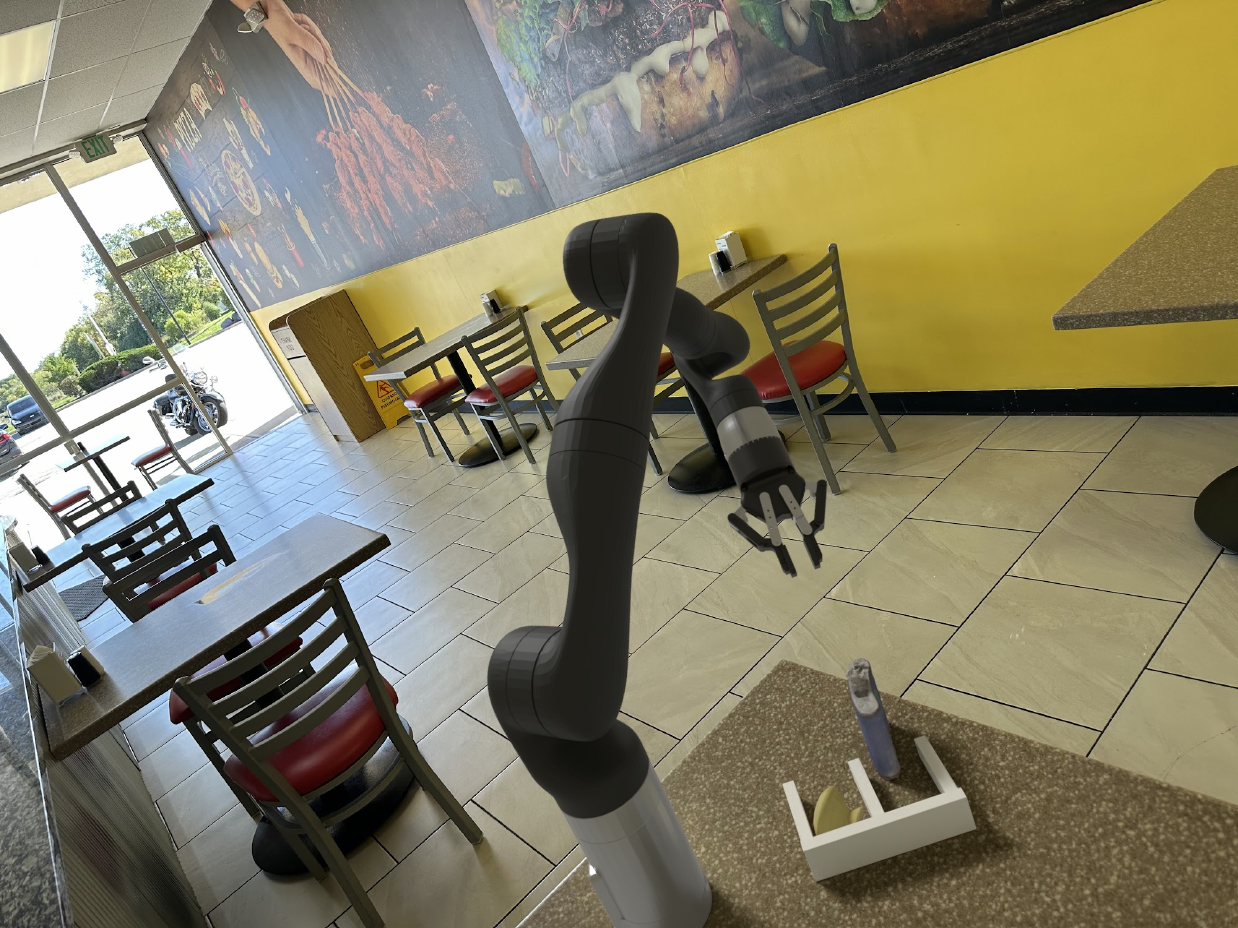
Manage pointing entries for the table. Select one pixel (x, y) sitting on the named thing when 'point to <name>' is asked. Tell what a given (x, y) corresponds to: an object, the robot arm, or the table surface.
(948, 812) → the rack
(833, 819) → the knob
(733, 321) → the robot arm
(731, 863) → the table surface
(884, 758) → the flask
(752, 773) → the table surface
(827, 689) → the table surface
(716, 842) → the table surface
